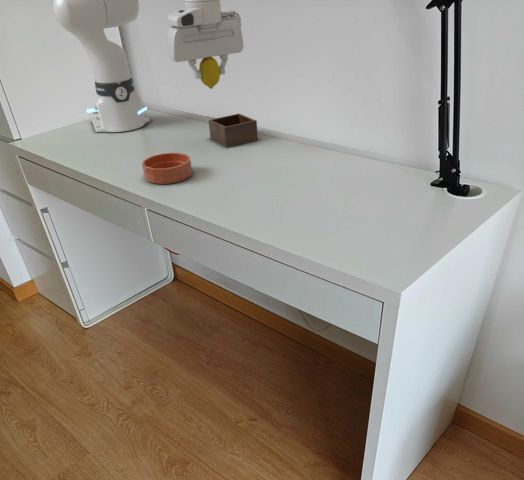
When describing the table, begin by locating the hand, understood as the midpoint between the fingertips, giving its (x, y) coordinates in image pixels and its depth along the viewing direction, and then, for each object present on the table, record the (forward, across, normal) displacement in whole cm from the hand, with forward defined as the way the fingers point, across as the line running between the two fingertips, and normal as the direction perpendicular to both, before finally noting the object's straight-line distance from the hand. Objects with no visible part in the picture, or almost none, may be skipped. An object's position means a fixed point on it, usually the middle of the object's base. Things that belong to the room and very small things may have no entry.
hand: (209, 76), depth 133 cm
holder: (+19, -8, -4) cm, 21 cm away
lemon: (+3, 0, 0) cm, 3 cm away
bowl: (+19, +20, +12) cm, 30 cm away
